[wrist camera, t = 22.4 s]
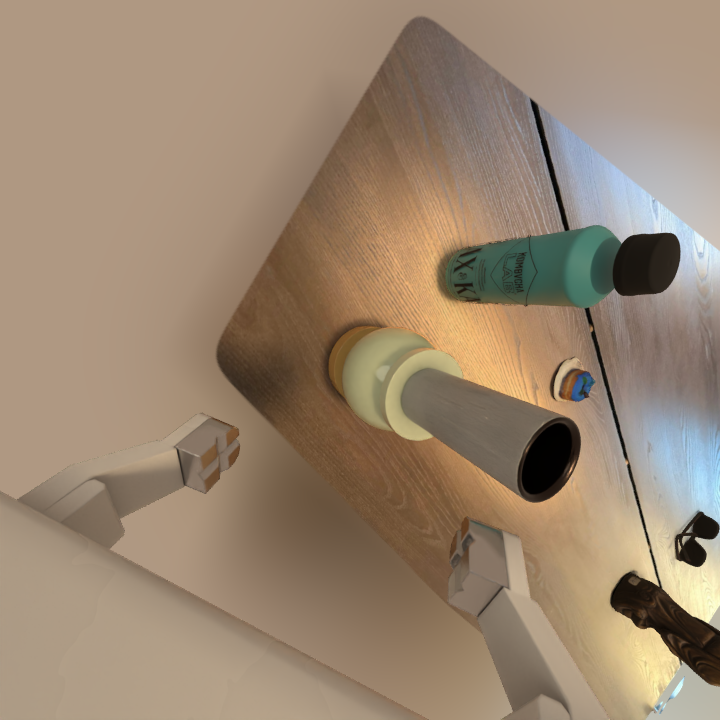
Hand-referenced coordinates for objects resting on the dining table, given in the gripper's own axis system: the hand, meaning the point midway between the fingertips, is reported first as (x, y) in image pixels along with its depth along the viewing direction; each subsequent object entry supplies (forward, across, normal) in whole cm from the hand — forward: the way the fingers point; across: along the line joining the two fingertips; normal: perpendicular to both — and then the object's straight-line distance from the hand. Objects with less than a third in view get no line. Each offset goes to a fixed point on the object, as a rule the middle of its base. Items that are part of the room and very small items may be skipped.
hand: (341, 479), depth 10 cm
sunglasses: (+76, -90, +65) cm, 135 cm away
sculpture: (+56, -70, +72) cm, 115 cm away
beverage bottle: (+33, -2, -1) cm, 33 cm away
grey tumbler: (+14, -2, +5) cm, 15 cm away
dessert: (+46, -26, +14) cm, 54 cm away
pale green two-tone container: (+22, +5, +9) cm, 25 cm away
